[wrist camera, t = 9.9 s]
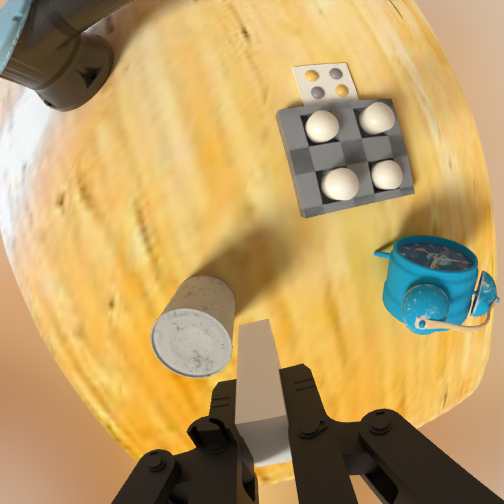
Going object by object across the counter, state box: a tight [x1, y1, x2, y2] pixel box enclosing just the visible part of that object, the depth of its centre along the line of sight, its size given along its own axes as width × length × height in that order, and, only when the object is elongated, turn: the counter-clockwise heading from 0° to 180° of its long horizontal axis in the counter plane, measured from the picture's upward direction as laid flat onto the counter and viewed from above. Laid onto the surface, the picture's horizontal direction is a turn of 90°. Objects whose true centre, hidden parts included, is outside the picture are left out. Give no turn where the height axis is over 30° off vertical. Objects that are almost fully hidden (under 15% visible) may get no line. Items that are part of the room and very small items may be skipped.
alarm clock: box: [374, 235, 499, 335], centre depth 30 cm, size 17×10×20 cm, turn 95°
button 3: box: [359, 102, 395, 135], centre depth 31 cm, size 4×4×4 cm
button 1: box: [304, 110, 339, 144], centre depth 33 cm, size 4×4×4 cm
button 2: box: [321, 168, 359, 200], centre depth 33 cm, size 4×4×4 cm
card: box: [292, 63, 359, 106], centre depth 34 cm, size 7×9×1 cm
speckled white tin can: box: [151, 275, 236, 378], centre depth 35 cm, size 10×10×12 cm
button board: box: [276, 99, 415, 218], centre depth 35 cm, size 15×18×3 cm
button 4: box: [369, 160, 403, 189], centre depth 34 cm, size 4×4×4 cm
